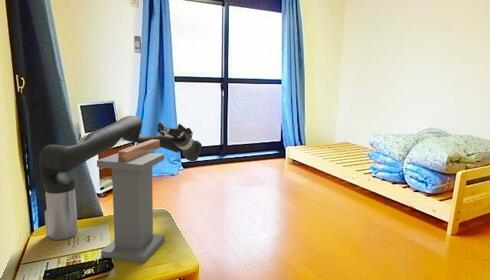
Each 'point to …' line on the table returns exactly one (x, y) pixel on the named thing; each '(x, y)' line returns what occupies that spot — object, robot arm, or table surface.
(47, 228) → the robot arm
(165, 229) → the table surface
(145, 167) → the stand
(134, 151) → the bar
